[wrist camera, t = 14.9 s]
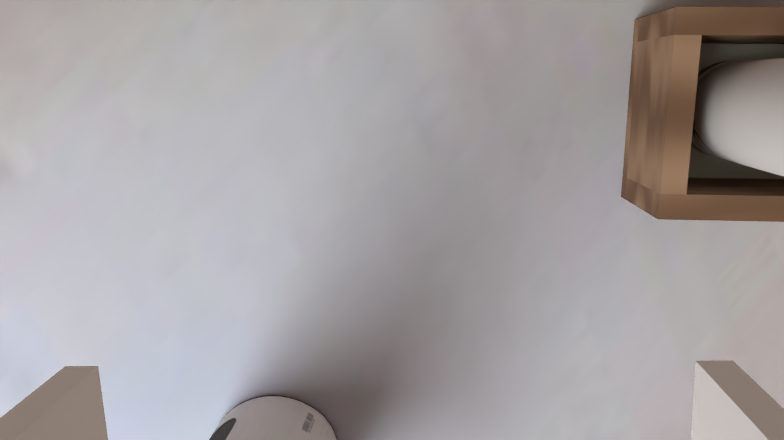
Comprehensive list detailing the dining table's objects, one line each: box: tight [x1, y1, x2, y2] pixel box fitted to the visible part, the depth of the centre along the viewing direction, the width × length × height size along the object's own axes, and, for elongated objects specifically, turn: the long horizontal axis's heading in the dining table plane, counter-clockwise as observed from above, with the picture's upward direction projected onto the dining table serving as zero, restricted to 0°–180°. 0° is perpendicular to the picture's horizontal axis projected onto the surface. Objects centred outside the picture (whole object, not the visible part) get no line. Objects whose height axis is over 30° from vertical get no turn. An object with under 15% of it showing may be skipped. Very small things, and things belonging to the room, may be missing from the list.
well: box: [621, 7, 784, 222], centre depth 42 cm, size 12×12×8 cm
